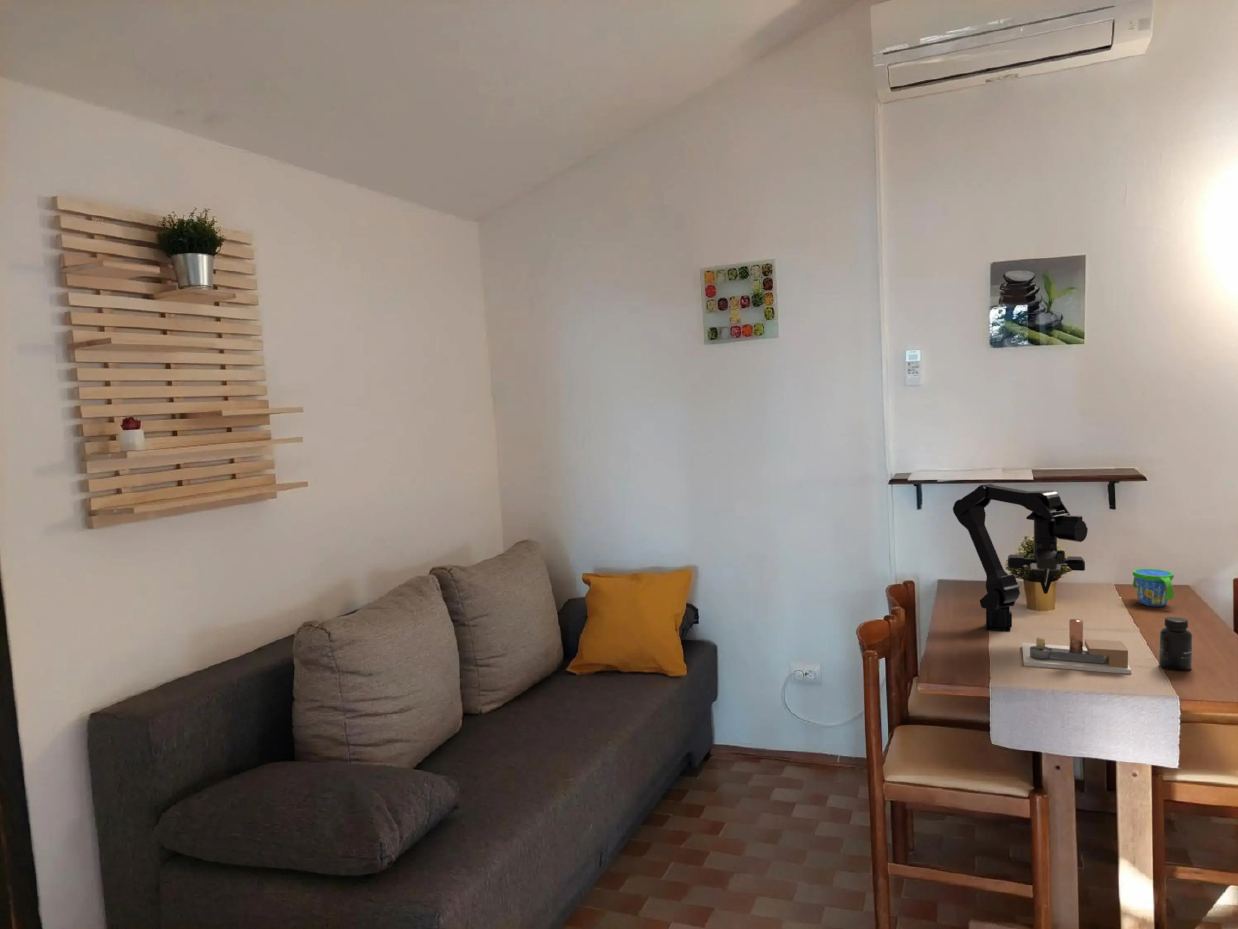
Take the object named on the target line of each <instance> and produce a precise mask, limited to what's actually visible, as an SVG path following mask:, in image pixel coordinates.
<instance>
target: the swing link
mask: <svg viewBox="0 0 1238 929" xmlns="http://www.w3.org/2000/svg"><path fill="white" fill-rule="evenodd" d="M1068 624H1069V631H1068V633H1069V635H1068V637H1069V640H1068V641H1069V645H1068V646H1069V649H1058V648H1049V647H1045V649H1039V648H1036V646H1032V647H1030V657H1032V658H1035V659H1042V660H1046V659H1056V660H1067V661H1079V662H1091V663H1103V664H1104V655H1091V654H1089V652H1088V651H1083V647H1084V620H1083V619H1079V618H1070V619H1069V623H1068Z"/></svg>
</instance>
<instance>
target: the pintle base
mask: <svg viewBox="0 0 1238 929" xmlns="http://www.w3.org/2000/svg"><path fill="white" fill-rule="evenodd" d="M1035 642H1036V643H1030V642H1029V643H1028V642H1022V643H1021V646H1022V647H1021V648H1022V659H1023V665H1024V666H1025V667H1037V668H1038V667H1039V668H1050V669H1063V670H1076V671H1078V670H1079V671H1091V672H1103V673H1114V674H1127V675H1128V674H1129V675H1132V669H1131V667H1130V665H1129V649H1128V648H1127V647H1126V645H1125V644H1124V643H1123V641H1122V640H1108V639H1107V640H1106V639H1092V638H1091V639H1090V638H1089V639H1088V638H1084V646H1083V651H1088V652H1089V654H1091V655H1104V664H1103V663H1091V662H1079V661H1067V660H1056V659H1046V660H1042V659H1035V658H1032V657H1030V647H1032V646H1036V648H1039V649H1045V647H1049V648H1058V649H1069V645H1057V644H1046V638H1044V637H1041V636H1039V637H1036V641H1035Z"/></svg>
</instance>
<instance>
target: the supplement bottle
mask: <svg viewBox="0 0 1238 929" xmlns="http://www.w3.org/2000/svg"><path fill="white" fill-rule="evenodd" d="M1163 625H1164V627H1163V628H1162V629H1161V630H1159V631H1160V632H1159V645H1158V646H1159V650H1158V651H1159V653H1158V665H1159V666H1161V667H1162V668H1165V669H1167V670H1171V671H1177V672H1179V671H1180V672H1181V671H1189V670H1191V669H1192V665H1193V639H1194V638H1193V633H1192V632H1191V631H1190V630H1188V629H1189V620H1188V619H1186V618H1183V617H1178V616H1167V617H1165V618H1164V623H1163Z"/></svg>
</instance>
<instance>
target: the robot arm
mask: <svg viewBox="0 0 1238 929" xmlns="http://www.w3.org/2000/svg"><path fill="white" fill-rule="evenodd" d="M991 501H998V502H1002V503H1007V504H1012V505H1019V506H1021V507H1023V508H1025V509H1026V510H1028V511H1030V512H1031V513H1030V514H1029V515H1027V516H1026V517H1025V519H1026V520H1027V521H1029V520H1030V521H1033V558H1031V557H1029V558H1027V557H1024V554H1009V555H1008V556H1007V568H1008V569H1022V568H1023V567H1024V566H1030V572H1032V573H1033V572H1034V573H1035V574H1036V576H1037V578H1038V580H1039V582H1040V585H1041V589H1042V592H1043V594H1045V595H1046V594H1048V593H1049V590H1050V587H1051V584H1052V582H1053V580H1054V578H1055V576H1056V575H1057V574H1058V573H1059V574H1060V573H1061V572H1062V571H1061V570H1062V569H1061V568H1062V567H1067V568H1069V569H1070V570H1071V571H1075V572H1076V571H1079V572H1080V571H1081V572H1082V571H1083V572H1084V571H1086V568H1085V567H1086V563H1085V559H1084V558H1083V557H1082V556H1069V555H1068V556H1066V553H1065V552H1066V551H1065V550H1058V540H1062V541H1063V540H1064V541H1071V542H1076V543H1078V542H1079V543H1082V542H1084V541H1085V540H1086V538H1087V537H1088V536H1087V535H1088V529H1089V528H1088V527H1087V523H1086V522H1085V521H1084V520H1083V515H1071V513H1070V512H1069V511H1068V509H1067V507H1066V505H1065V504H1064V503H1063V501H1062V499H1061V497H1060V495H1059V493H1058V492H1057V491H1055V490H1031V491H1030V490H1029V491H1028V490H1023V489H1017V488H1013V487H1012V488H1011V487H1006V486H1001V485H995V484H993V483H987V484H985V483H984V484H981V485H979V486H977V487H976V488H975V489H974V490H972V491H971V492H970V493H968V494H965V495H964V496H963V497H962V498H960V499H957V500H956V501H955V502H954V504H953V506H952V512H953V514H954V516H955V517H956V519H957V521H958V523H960V524H961V526H963V527H964V528H965V529H966V530H967V532H968V534H969V536H970V539H971V541H972V543H973V545H974V546H973V547H974V548H975V551H976V554H977V556H978V558H979V560H980V563H981V565H982V568H983V569H984V573H985V575H986V580H985V590H986V594H985V595H983V597H982V598H980V600H979V604H980V607H981V608H982V609H985V630H991V631H992V630H993V631H1001V632H1002V631H1005V632H1008V631H1009V632H1010V631H1011V628H1012V627H1013V613H1012V611H1010V607H1014V606H1015V604H1016V601H1017V600H1018V598H1019V596H1020V595H1021V593H1020V591H1021V590H1020V588H1021V587H1020V585H1019V584H1018V582H1017V578H1016V575H1015V574H1012V573H1011V574H1009V573H1007V572H1006V571H1005V569H1004V567H1003V565H1002V563H1001V561H1000V557H999V555H998V553H997V551H996V549H995V546H994V544H993V541H992V538H991V536H990V534H989V532H988V530H987V527H986V524H985V523H986V522H985V521H986V511H985V508H987V507H988V506H989V504H991ZM1044 569H1045V570H1047V571H1046V579H1045V578H1044V577H1045V576H1044V575H1045V574H1044Z"/></svg>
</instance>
